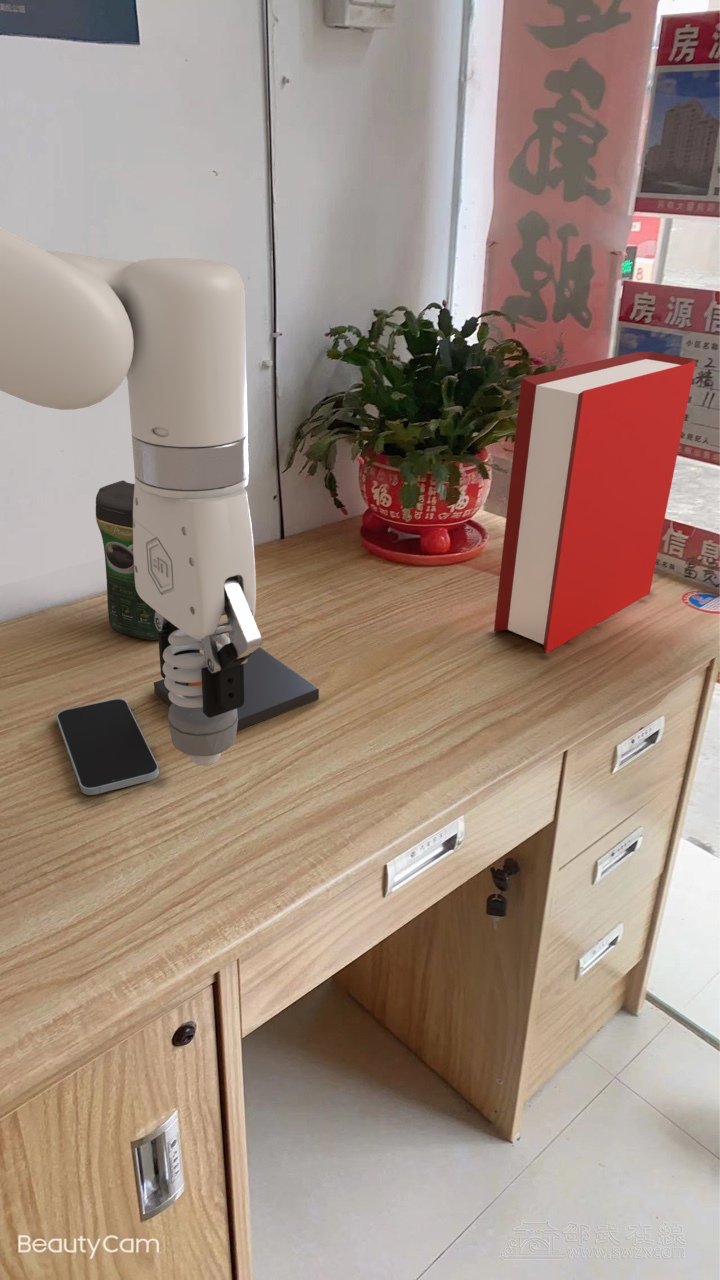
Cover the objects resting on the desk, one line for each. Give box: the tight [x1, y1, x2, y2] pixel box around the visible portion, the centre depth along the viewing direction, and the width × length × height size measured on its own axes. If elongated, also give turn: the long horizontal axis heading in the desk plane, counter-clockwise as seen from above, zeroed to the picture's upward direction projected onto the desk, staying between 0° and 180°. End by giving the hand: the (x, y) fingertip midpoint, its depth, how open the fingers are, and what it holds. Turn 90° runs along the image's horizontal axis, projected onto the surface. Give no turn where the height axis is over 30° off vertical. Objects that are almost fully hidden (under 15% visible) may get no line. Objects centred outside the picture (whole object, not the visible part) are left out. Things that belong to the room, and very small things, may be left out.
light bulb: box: [163, 629, 238, 767], centre depth 68 cm, size 6×6×12 cm
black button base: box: [153, 646, 320, 732], centre depth 98 cm, size 14×12×3 cm
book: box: [493, 351, 697, 654], centre depth 112 cm, size 27×8×32 cm, turn 135°
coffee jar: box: [95, 480, 164, 641], centre depth 108 cm, size 10×8×19 cm
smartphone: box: [56, 698, 160, 796], centre depth 89 cm, size 7×1×15 cm
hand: (201, 689), depth 67 cm, fingers closed on light bulb, 5 cm apart
